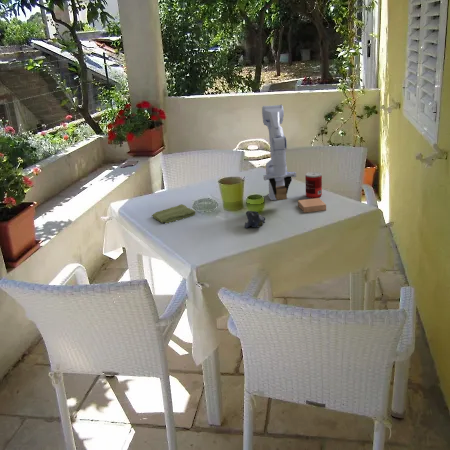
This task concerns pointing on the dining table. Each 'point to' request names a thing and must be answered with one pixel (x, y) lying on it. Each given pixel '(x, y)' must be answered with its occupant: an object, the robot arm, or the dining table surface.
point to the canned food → (313, 184)
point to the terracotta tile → (311, 205)
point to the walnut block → (281, 192)
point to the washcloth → (174, 214)
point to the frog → (254, 219)
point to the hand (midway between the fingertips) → (280, 193)
